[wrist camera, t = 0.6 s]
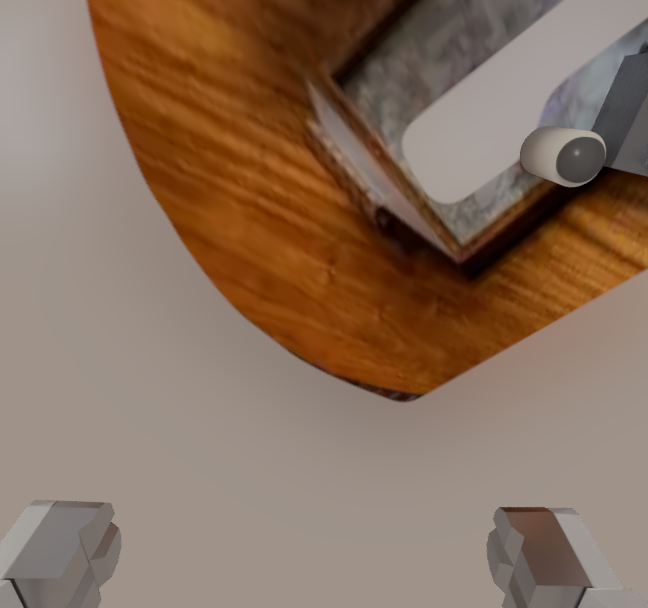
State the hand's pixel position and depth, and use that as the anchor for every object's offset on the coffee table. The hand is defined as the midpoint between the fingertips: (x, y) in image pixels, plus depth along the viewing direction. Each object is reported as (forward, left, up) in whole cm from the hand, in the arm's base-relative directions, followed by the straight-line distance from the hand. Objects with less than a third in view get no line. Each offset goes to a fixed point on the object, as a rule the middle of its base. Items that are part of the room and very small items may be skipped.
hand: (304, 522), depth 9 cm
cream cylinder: (-8, +23, -43) cm, 49 cm away
